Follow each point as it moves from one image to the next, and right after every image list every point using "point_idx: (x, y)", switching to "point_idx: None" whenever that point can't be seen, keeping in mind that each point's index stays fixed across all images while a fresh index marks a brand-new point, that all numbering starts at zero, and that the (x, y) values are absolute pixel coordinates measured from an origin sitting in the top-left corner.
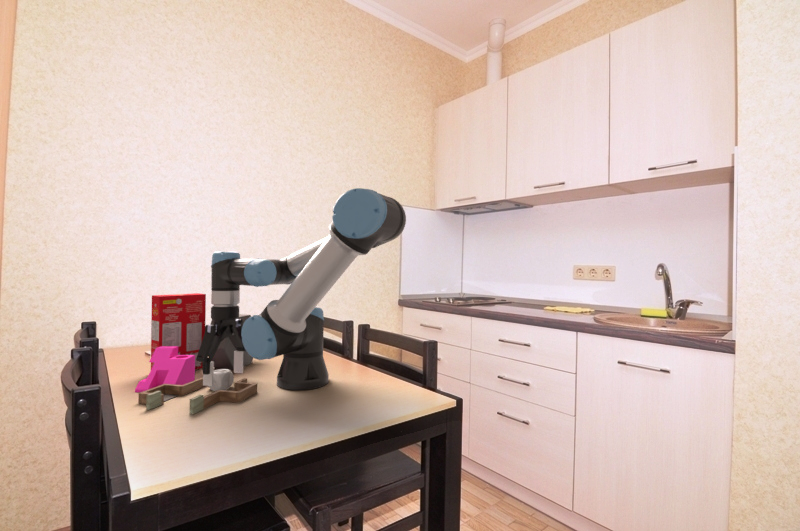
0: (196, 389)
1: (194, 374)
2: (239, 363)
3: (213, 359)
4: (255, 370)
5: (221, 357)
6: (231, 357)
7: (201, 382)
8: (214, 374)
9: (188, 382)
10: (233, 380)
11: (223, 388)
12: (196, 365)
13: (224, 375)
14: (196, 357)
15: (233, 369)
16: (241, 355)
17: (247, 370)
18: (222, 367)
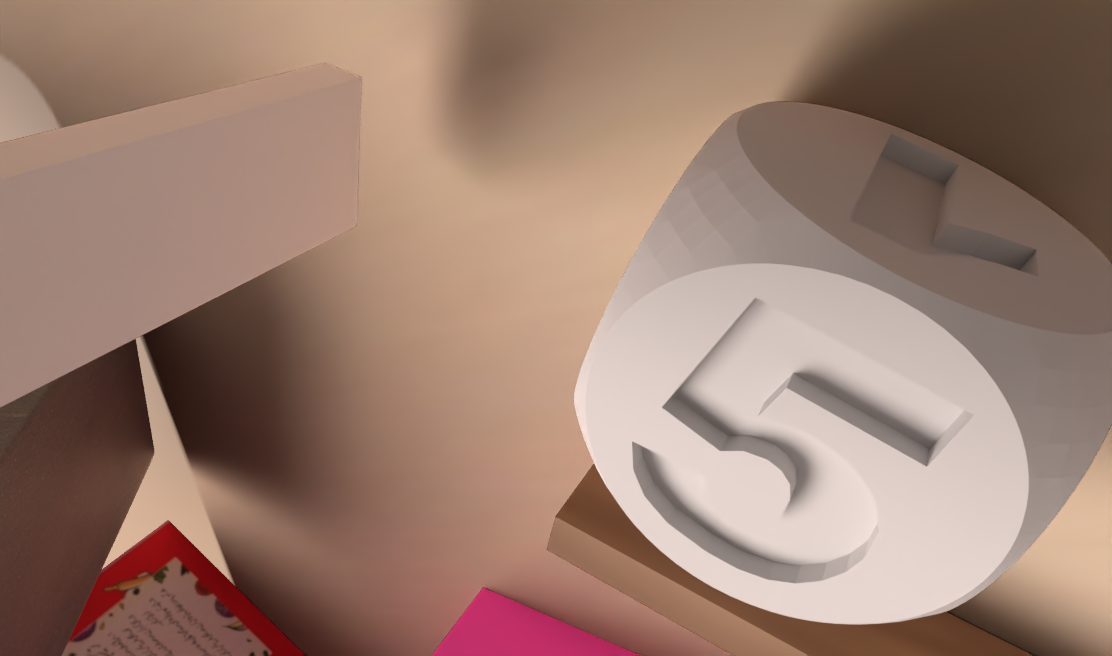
0: None
1: (452, 638)
2: (216, 174)
3: (101, 526)
4: (43, 20)
5: (60, 479)
6: None
7: None
8: (1006, 563)
9: (597, 649)
10: (760, 106)
11: (1056, 215)
12: (192, 596)
13: (1041, 325)
14: (127, 652)
15: None
16: (20, 187)
17: None
18: (135, 396)
